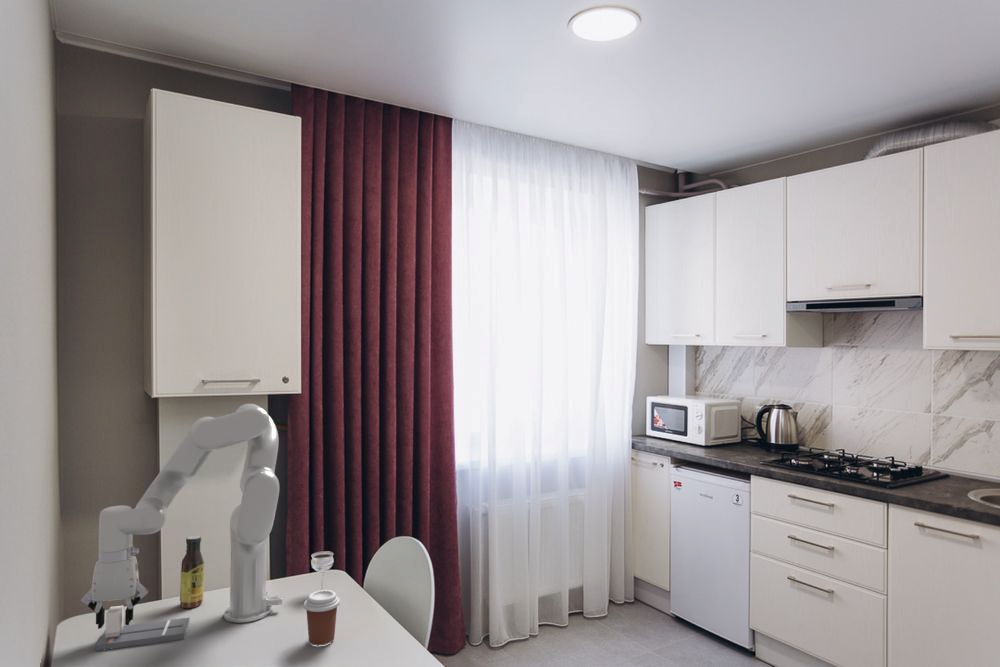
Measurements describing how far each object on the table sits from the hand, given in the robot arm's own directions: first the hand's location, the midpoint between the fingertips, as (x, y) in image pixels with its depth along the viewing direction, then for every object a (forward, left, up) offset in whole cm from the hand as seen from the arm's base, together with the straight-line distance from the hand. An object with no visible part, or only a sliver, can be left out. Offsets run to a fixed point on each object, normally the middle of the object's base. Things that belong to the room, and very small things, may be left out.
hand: (114, 623), depth 161 cm
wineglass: (-53, -14, -4) cm, 55 cm away
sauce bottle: (-16, -18, -4) cm, 24 cm away
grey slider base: (-7, 0, -4) cm, 8 cm away
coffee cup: (-51, +18, -4) cm, 54 cm away
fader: (0, 0, -2) cm, 2 cm away
